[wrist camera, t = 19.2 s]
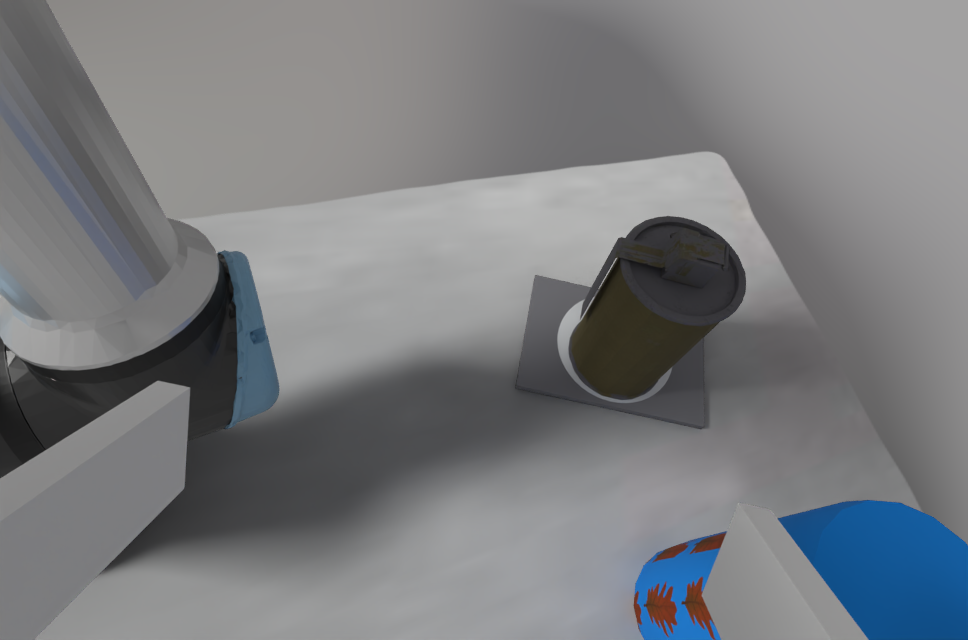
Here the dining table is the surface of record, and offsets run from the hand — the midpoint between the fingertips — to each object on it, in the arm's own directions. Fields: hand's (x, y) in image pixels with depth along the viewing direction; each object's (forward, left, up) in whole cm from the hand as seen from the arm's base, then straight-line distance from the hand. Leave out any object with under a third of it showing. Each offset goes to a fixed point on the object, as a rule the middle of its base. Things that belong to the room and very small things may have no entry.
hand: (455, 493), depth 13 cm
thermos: (+24, +2, -40) cm, 46 cm away
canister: (+15, +25, -39) cm, 49 cm away
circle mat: (+15, +26, -40) cm, 50 cm away
